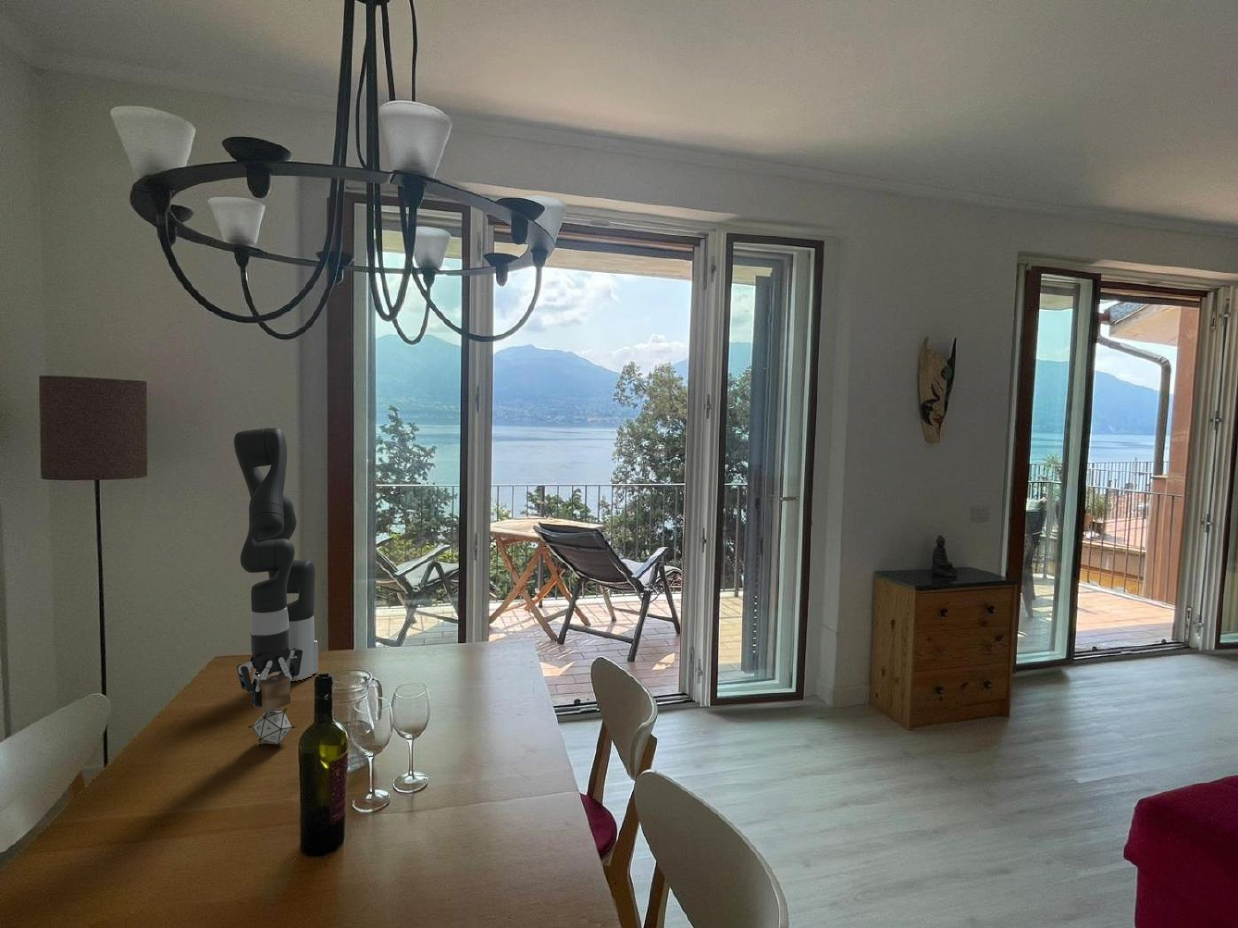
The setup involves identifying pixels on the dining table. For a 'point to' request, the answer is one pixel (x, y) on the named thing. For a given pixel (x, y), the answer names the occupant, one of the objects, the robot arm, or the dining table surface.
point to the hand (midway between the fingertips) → (271, 701)
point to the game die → (272, 727)
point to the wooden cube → (275, 692)
